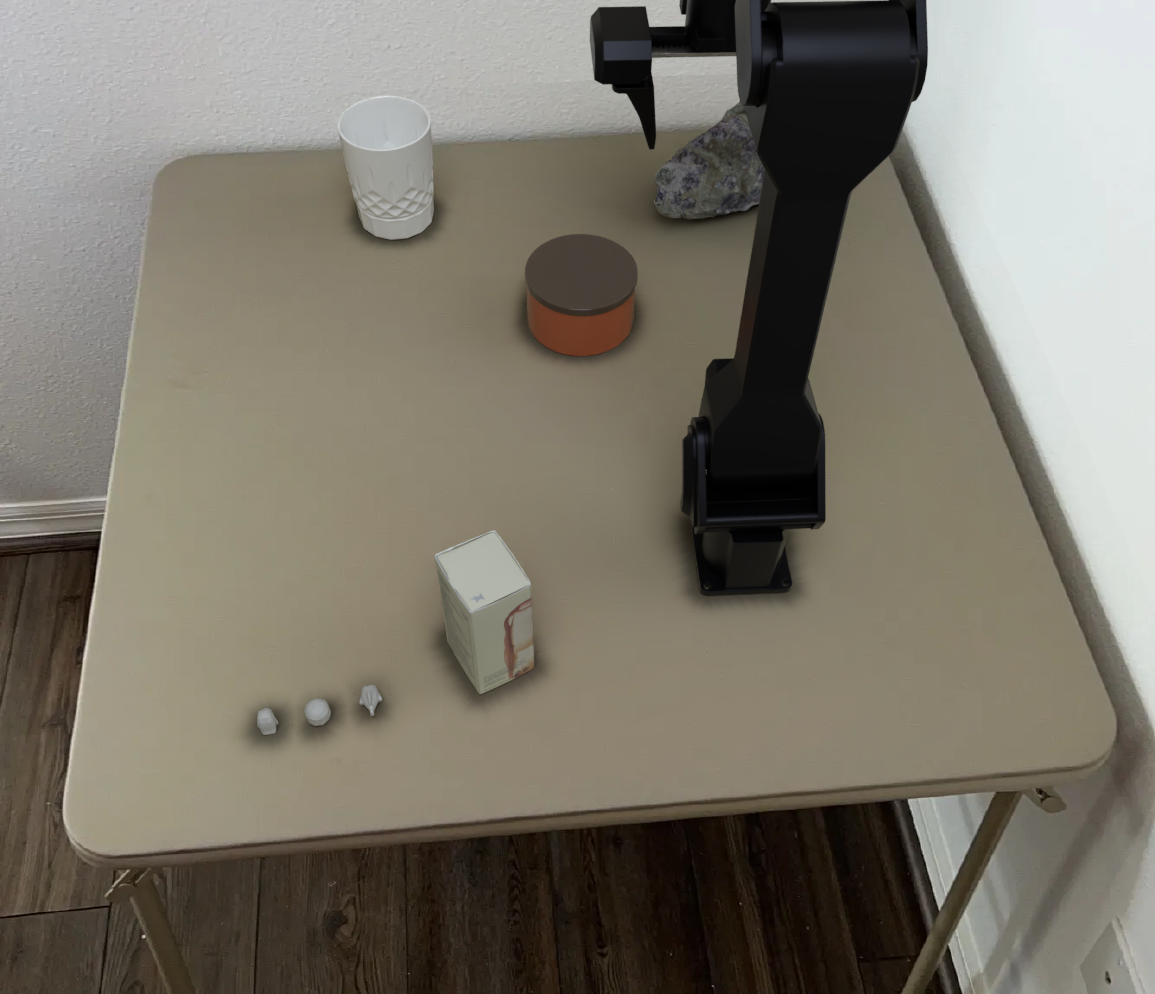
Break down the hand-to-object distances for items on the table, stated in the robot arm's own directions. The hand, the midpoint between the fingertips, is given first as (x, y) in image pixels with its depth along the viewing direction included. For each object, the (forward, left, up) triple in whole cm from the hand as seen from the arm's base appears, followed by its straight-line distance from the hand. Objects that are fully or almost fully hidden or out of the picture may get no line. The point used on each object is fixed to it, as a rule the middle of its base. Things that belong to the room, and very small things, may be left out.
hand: (710, 144), depth 87 cm
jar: (-3, +10, -15) cm, 18 cm away
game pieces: (-39, +29, -15) cm, 51 cm away
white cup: (+11, +26, -15) cm, 32 cm away
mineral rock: (+13, -4, -15) cm, 20 cm away
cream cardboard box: (-35, +18, -15) cm, 42 cm away
